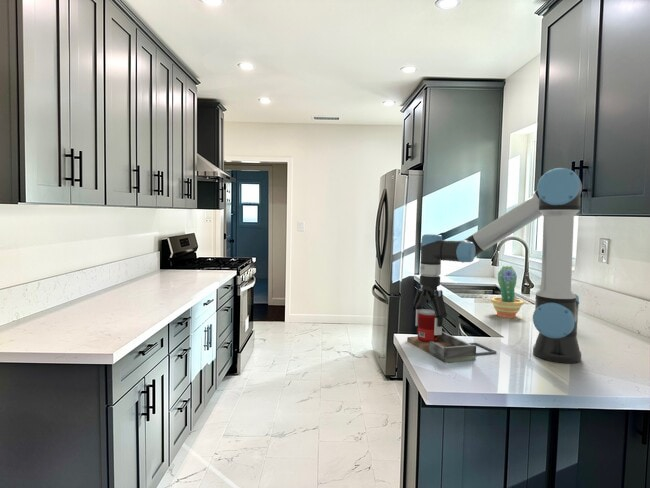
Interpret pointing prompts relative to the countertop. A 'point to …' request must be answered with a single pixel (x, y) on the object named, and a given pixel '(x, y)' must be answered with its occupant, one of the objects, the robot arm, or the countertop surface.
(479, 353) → the frame
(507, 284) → the potted cactus
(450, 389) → the countertop surface
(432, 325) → the canned food
